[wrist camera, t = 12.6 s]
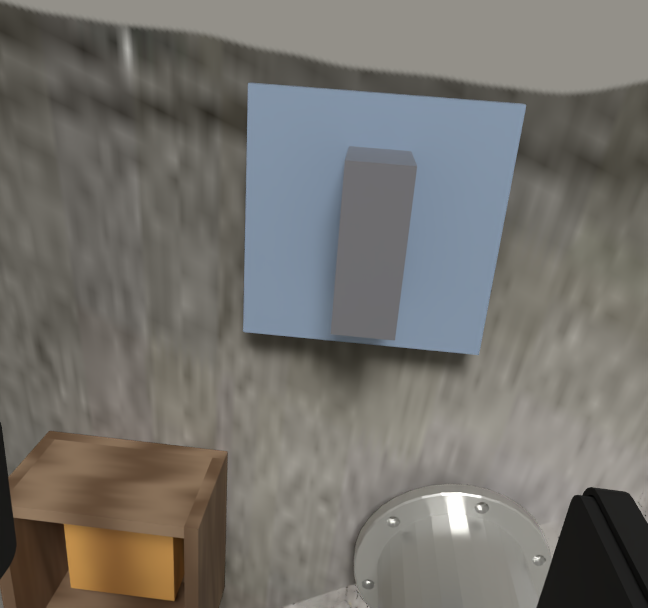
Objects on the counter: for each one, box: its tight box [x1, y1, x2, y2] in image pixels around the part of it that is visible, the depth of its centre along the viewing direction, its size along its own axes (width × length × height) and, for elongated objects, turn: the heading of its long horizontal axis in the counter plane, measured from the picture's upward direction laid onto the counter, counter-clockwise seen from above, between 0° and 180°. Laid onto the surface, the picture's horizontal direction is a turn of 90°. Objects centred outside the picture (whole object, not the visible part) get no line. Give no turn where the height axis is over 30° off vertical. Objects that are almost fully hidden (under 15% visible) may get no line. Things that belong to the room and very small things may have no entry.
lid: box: [243, 83, 526, 355], centre depth 29 cm, size 13×13×7 cm
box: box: [0, 431, 227, 608], centre depth 38 cm, size 12×12×7 cm
